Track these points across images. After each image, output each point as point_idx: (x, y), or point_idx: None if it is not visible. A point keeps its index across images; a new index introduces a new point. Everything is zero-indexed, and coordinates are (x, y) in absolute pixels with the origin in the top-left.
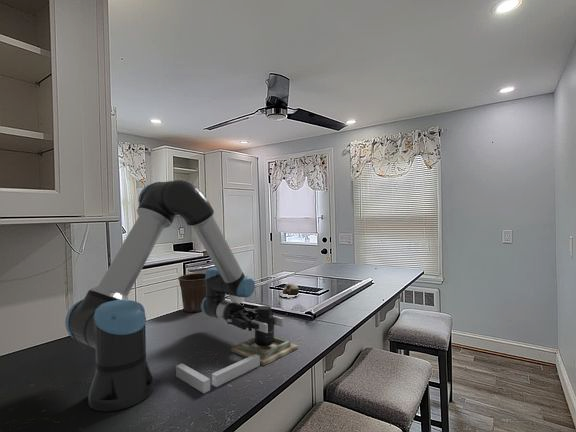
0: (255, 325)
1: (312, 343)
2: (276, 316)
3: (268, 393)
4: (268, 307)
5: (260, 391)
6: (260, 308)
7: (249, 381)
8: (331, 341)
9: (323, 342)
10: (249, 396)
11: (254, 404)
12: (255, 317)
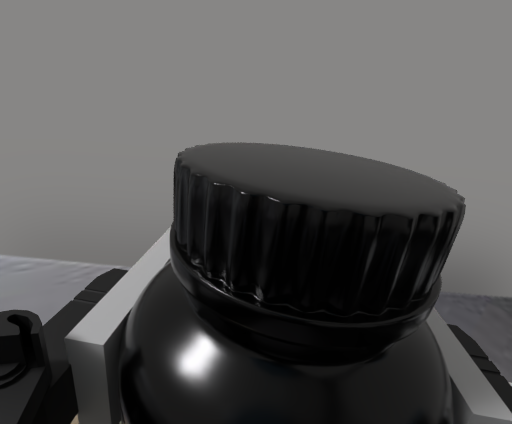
0: (470, 341)
1: (54, 309)
2: (149, 251)
3: (444, 292)
4: (255, 148)
5: (465, 309)
6: (401, 179)
7: (493, 362)
8: (28, 264)
9: (40, 281)
10: (506, 319)
11: (496, 297)
12: (443, 396)
